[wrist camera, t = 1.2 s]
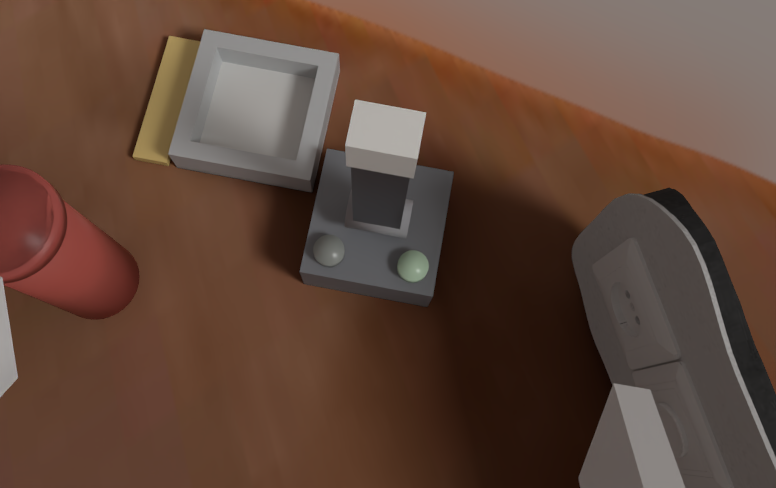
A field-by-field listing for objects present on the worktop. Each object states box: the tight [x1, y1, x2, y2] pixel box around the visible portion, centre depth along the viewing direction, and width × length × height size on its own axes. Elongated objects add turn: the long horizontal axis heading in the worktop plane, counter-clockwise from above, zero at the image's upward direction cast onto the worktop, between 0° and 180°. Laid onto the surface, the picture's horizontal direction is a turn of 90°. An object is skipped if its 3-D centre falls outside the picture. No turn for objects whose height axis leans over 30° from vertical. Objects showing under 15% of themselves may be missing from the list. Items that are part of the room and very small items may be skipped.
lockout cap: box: [0, 165, 139, 319], centre depth 33 cm, size 5×5×11 cm
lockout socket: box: [132, 29, 340, 193], centre depth 40 cm, size 10×8×2 cm
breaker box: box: [300, 149, 454, 307], centre depth 38 cm, size 7×7×4 cm
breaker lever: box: [345, 100, 426, 238], centre depth 31 cm, size 3×2×11 cm, turn 80°
